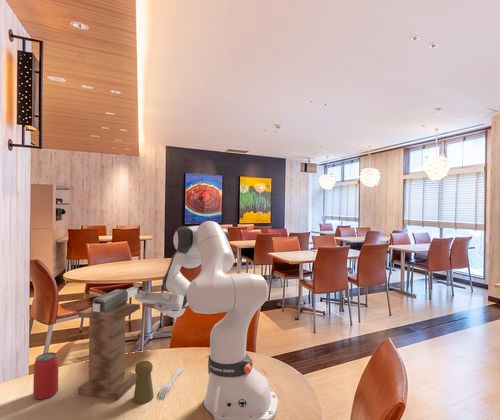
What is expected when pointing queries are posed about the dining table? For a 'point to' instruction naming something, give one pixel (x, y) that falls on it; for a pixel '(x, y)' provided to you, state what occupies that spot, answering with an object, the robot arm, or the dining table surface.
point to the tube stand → (108, 347)
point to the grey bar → (131, 292)
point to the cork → (143, 383)
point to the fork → (169, 384)
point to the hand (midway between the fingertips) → (150, 293)
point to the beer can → (45, 376)
